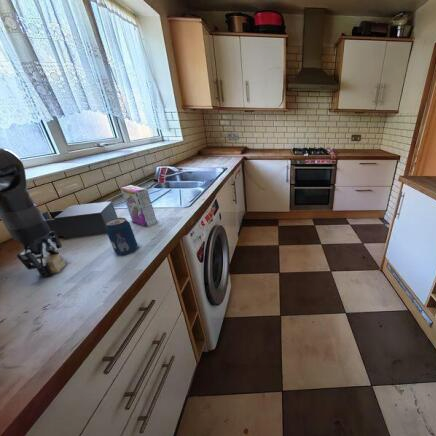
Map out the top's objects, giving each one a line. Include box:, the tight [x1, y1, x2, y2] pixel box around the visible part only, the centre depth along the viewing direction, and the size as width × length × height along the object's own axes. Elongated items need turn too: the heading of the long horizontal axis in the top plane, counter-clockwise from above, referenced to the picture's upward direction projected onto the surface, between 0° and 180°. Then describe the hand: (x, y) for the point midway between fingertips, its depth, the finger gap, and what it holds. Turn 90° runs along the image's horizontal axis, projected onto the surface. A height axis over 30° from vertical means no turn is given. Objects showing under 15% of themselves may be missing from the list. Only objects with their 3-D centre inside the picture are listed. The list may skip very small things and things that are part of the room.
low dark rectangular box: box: [54, 200, 119, 240], centre depth 94 cm, size 15×13×10 cm
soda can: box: [105, 217, 138, 256], centre depth 79 cm, size 7×7×12 cm
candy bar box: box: [120, 184, 158, 227], centre depth 98 cm, size 11×5×16 cm, turn 63°
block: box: [36, 253, 67, 275], centre depth 71 cm, size 4×4×4 cm
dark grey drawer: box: [41, 209, 65, 238], centre depth 91 cm, size 18×11×8 cm, turn 109°
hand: (53, 269), depth 72 cm, fingers open, 5 cm apart
